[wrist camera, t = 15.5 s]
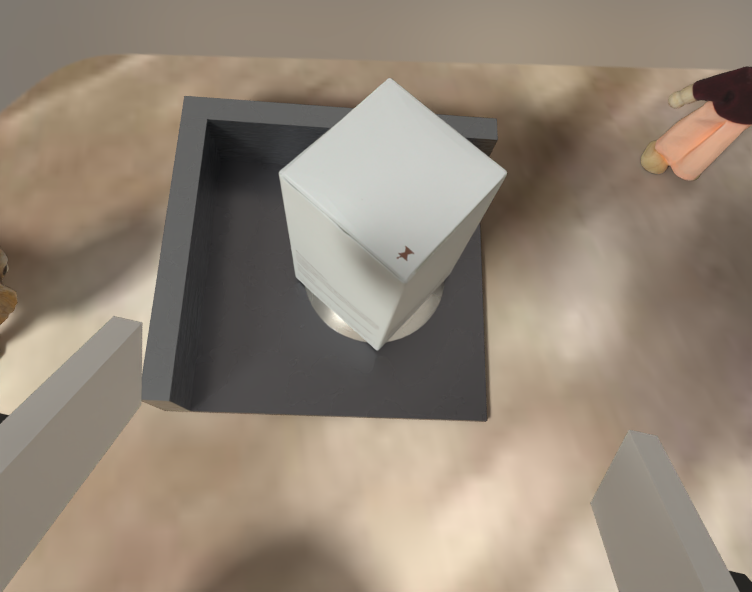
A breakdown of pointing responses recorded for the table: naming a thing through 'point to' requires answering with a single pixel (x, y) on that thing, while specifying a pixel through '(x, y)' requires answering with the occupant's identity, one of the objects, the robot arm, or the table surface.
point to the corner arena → (290, 290)
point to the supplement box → (384, 209)
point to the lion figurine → (5, 291)
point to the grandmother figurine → (703, 124)
